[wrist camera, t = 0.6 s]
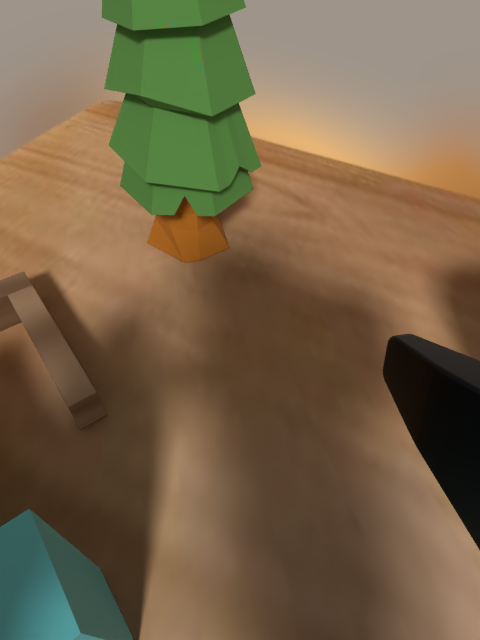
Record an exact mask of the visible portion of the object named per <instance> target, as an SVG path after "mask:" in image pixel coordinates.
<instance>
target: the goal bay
mask: <svg viewBox="0 0 480 640" xmlns="http://www.w3.org/2000/svg"><path fill="white" fill-rule="evenodd" d="M20 322H22V323H23V325H24V327H25V329H26V331H27V332H28V334H29V336H30V338H31V340H32V342H33V343H34V345H35V347H36V349H37V351H38V353H39V354H40V356H41V358H42V360H43V362H44V364H45V366H46V367H47V369H48V371H49V373H50V375H51V377H52V378H53V380H54V382H55V384H56V386H57V388H58V390H59V391H60V393H61V395H62V397H63V399H64V401H65V402H66V404H67V406H68V408H69V410H70V411H71V413H72V415H73V417H74V418H75V420H76V422H77V423H78V425H79V427H80V429H83V428H85V427H86V426H88V425H90V424H92V423H93V422H95V421H97V420H99V419H100V418H102V417H104V416H105V415H107V414H106V412H105V410H104V408H103V405H102V403H101V401H100V399H99V396H98V394H97V392H96V390H95V389H94V387H93V385H92V384H91V382H90V380H89V379H88V377H87V375H86V374H85V372H84V370H83V369H82V367H81V365H80V364H79V362H78V360H77V359H76V357H75V355H74V354H73V352H72V350H71V349H70V347H69V345H68V344H67V342H66V340H65V339H64V337H63V336H62V334H61V332H60V331H59V329H58V327H57V326H56V324H55V322H54V321H53V319H52V317H51V316H50V314H49V312H48V311H47V309H46V307H45V306H44V304H43V302H42V301H41V299H40V297H39V296H38V294H37V292H36V291H35V289H34V287H33V286H32V284H31V282H30V281H29V279H28V277H27V276H26V274H25V272H24V271H23V272H21V273H18V274H16V275H13V276H11V277H8V278H6V279H3V280H1V281H0V331H2V330H4V329H7V328H9V327H11V326H13V325H16V324H18V323H20Z"/></svg>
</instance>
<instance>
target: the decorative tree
mask: <svg viewBox="0 0 480 640" xmlns="http://www.w3.org/2000/svg"><path fill="white" fill-rule="evenodd" d="M245 7H246V6H245V3H244V0H102V18H104V19H107V20H109V21H112V22H114V23H116V24H117V28H116V33H115V38H114V43H113V48H112V53H111V58H110V63H109V68H108V73H107V79H106V83H105V88H104V89H108V90H113V91H119V92H124V93H126V95H125V97H124V100H123V103H122V106H121V109H120V112H119V115H118V118H117V121H116V124H115V127H114V130H113V133H112V136H111V139H110V142H109V146H110V147H111V148H112V149H113V150H114V151H115V152H116V153H117V154H118V155H119V156H120V157H121V158H122V159H123V160H124V161H125V163H124V168H123V173H122V179H121V184H120V186H121V187H122V188H123V189H124V190H125V191H127V192H128V193H129V194H130V195H131V196H132V197H133V198H134V199H135V200H136V201H137V202H138V203H139V204H141V205H142V206H143V207H144V208H145V209H146V210H147V211H148V212H149V213H150V214H151V215H156V217H155V220H154V223H153V226H152V229H151V232H150V236H149V239H148V242H147V243H148V244H150V245H152V246H154V247H156V248H158V249H160V250H162V251H163V252H165V253H167V254H169V255H171V256H173V257H175V258H177V259H179V260H180V261H182V262H184V263H187V262H192V261H198V260H202V259H204V258H206V257H209V256H211V255H213V254H216V253H218V252H220V251H223V250H225V249H227V248H229V245H228V242H227V239H226V236H225V233H224V230H223V227H222V224H221V221H220V219H218V218H217V217H216V215H217V214H219V213H220V212H222V211H223V210H224V209H226V208H227V207H229V206H230V205H231V204H233V203H234V202H236V201H237V200H238V199H240V198H241V197H243V196H244V195H245V194H247V193H248V192H250V191H251V190H252V189H253V187H252V184H251V181H250V177H249V174H248V171H250V172H253V171H254V170H256V169H257V168H259V167H261V164H260V161H259V158H258V155H257V153H256V150H255V147H254V144H253V142H252V139H251V136H250V133H249V131H248V128H247V125H246V122H245V119H244V117H243V114H242V111H241V109H240V106H239V102H241V101H243V100H245V99H247V98H248V97H250V96H252V95H254V94H255V91H254V88H253V85H252V82H251V79H250V76H249V73H248V70H247V67H246V64H245V61H244V58H243V54H242V51H241V48H240V45H239V42H238V39H237V36H236V33H235V30H234V27H233V24H232V21H231V18H230V15H229V14H231V13H234V12H236V11H238V10H241V9H243V8H245Z"/></svg>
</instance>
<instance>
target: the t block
mask: <svg viewBox="0 0 480 640" xmlns="http://www.w3.org/2000/svg"><path fill="white" fill-rule="evenodd" d="M0 640H134V639H133V637H132V635H131V633H130V631H129V628H128V626H127V624H126V622H125V620H124V618H123V616H122V614H121V612H120V609H119V607H118V605H117V603H116V601H115V599H114V597H113V595H112V592H111V590H110V588H109V586H108V584H107V582H106V580H105V578H104V575H103V573H102V571H101V569H100V568H99V567H98V566H97V565H95V564H94V563H93V562H92V561H91V560H90V559H88V558H87V557H86V556H85V555H84V554H82V553H81V552H80V551H79V550H78V549H77V548H75V547H74V546H73V545H72V544H71V543H69V542H68V541H67V540H66V539H65V538H64V537H62V536H61V535H60V534H59V533H58V532H56V531H55V530H54V529H53V528H52V527H51V526H49V525H48V524H47V523H46V522H45V521H43V520H42V519H41V518H40V517H39V516H38V515H36V514H35V513H34V512H33V511H32V510H30V509H28V510H26V511H25V512H23V513H22V514H20V515H18V516H17V517H15V518H13V519H12V520H10V521H9V522H7V523H5V524H4V525H2V526H1V527H0Z"/></svg>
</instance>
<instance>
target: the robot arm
mask: <svg viewBox="0 0 480 640" xmlns="http://www.w3.org/2000/svg"><path fill="white" fill-rule="evenodd" d="M383 376H384V380H385V382H386V384H387V387H388V389H389V391H390V393H391V395H392V397H393V399H394V401H395V403H396V406H397V408H398V410H399V412H400V414H401V416H402V418H403V420H404V422H405V425H406V427H407V429H408V431H409V433H410V435H411V437H412V439H413V441H414V443H415V445H416V446H417V448H418V450H419V452H420V453H421V455H422V457H423V458H424V460H425V462H426V463H427V465H428V466H429V468H430V470H431V471H432V473H433V475H434V476H435V478H436V479H437V481H438V483H439V484H440V486H441V488H442V489H443V491H444V493H445V494H446V496H447V497H448V499H449V501H450V502H451V504H452V506H453V507H454V509H455V510H456V512H457V514H458V515H459V517H460V519H461V520H462V522H463V524H464V525H465V527H466V528H467V530H468V532H469V533H470V535H471V537H472V538H473V540H474V541H475V543H476V545H477V546H478V548H479V550H480V361H479V360H476V359H474V358H471V357H468V356H466V355H463V354H461V353H458V352H456V351H453V350H451V349H448V348H446V347H443V346H441V345H438V344H436V343H433V342H430V341H428V340H425V339H423V338H420V337H418V336H415V335H413V334H404V335H397V336H392V337H391V338H390V339H389V341H388V344H387V349H386V355H385V360H384V366H383Z"/></svg>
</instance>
